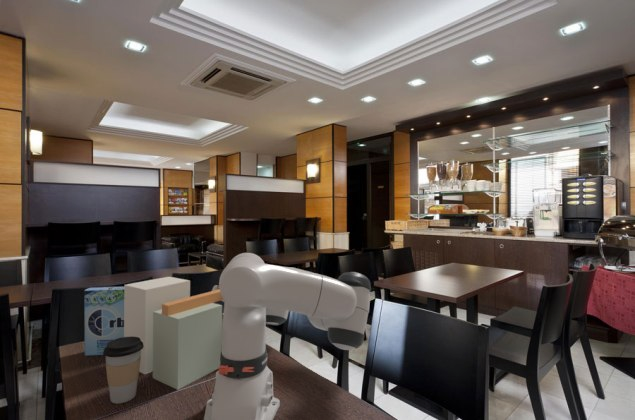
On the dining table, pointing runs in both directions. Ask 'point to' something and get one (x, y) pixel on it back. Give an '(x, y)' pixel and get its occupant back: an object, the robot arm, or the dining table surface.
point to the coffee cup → (123, 367)
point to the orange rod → (191, 302)
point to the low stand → (186, 344)
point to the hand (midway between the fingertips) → (221, 288)
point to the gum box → (103, 317)
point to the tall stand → (149, 310)
